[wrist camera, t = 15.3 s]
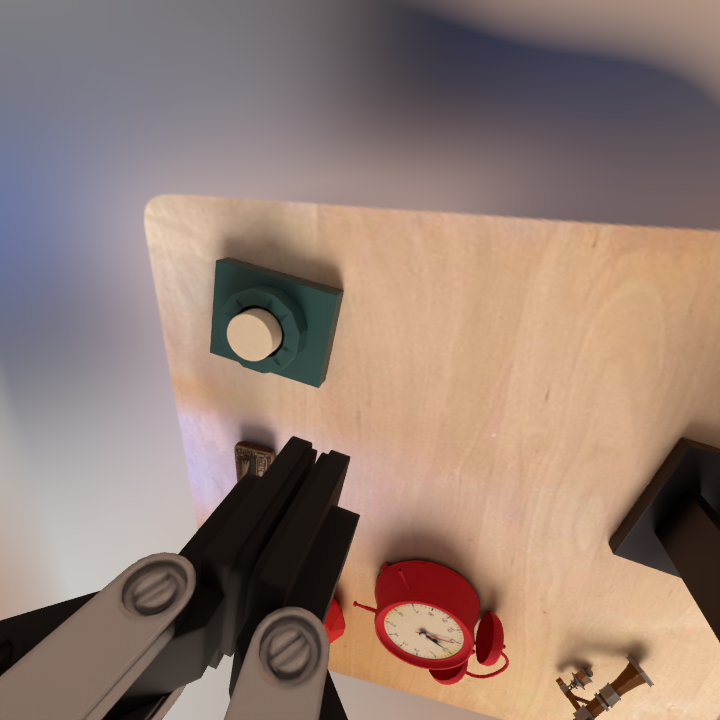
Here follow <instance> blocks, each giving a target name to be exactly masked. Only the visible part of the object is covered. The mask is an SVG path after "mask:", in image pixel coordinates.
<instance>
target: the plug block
mask: <svg viewBox="0 0 720 720" xmlns="http://www.w3.org/2000/svg"><path fill="white" fill-rule="evenodd" d="M343 292H344V291H343V290H339V289H336V288H332V287H329V286H325V285H322V284H318V283H315V282H311V281H308V280H305V279H301V278H298V277H294V276H291V275H287V274H284V273H280V272H277V271H273V270H270V269H266V268H263V267H259V266H256V265H252V264H249V263H245V262H242V261H238V260H235V259H231V258H224V259H219V260H216V270H215V285H214V300H213V316H212V331H211V346H210V353H213V354H216V355H219V356H222V357H225V358H228V359H231V360H234V361H238V362H239V363H240V364H241V365H242V366H243V367H246V368H249V369H252V370H255V371H258V372H261V373H269V372H271V373H274V374H277V375H280V376H284V377H287V378H290V379H293V380H296V381H299V382H302V383H305V384H308V385H311V386H314V387H317V388H319V387H320V386H321V384H322V383H323V382H324V381H325V379H326V374H327V369H328V364H329V359H330V355H331V350H332V345H333V340H334V335H335V331H336V326H337V321H338V316H339V311H340V307H341V302H342V297H343ZM253 308H259V309H263V310H266V311H268V312H270V313H271V314H272V315H273V316H274V317H275V318H276V319H277V320H278V322H279V324H280V326H281V330H282V339H281V343H280V345H279V347H278V348H277V349H276V350H275V351H273V352H272V353H271V354H269V355H268V356H267V357H265V358H264V359H262V360H259V361H249V360H245V359H243V358H241V357H240V356H238V355H237V354H236V353H235V352H234V351H233V349H232V348H231V346H230V344H229V342H228V338H227V328H228V325H229V323H230V321H231V320H232V319H233V318H234V317H235V316H237V315H239V314H241V313H243V312H245V311H247V310H250V309H253Z"/></svg>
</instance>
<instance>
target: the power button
mask: <svg viewBox="0 0 720 720" xmlns="http://www.w3.org/2000/svg"><path fill="white" fill-rule="evenodd" d="M227 338H228V342H229V344H230V346H231V348H232V349H233V351H234V352H235V353H236V354H237V355H238V356H240V357H241V358H243V359H245V360H249V361H259V360H262V359H264V358H265V357H267V356H268V355H269V354H271V353H272V352H273V351H275V350H276V349H277V348H278V347H279V345H280V343H281V339H282V330H281V326H280V324H279V322H278V320H277V319H276V318H275V317H274V316H273V315H272V314H271V313H270V312H268V311H266V310H263V309H259V308H253V309H250V310H247V311H245V312H243V313H241V314H239V315H237V316H235V317H234V318H233V319H232V320H231V321H230V323H229V325H228V328H227Z"/></svg>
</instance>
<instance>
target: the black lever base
mask: <svg viewBox="0 0 720 720" xmlns="http://www.w3.org/2000/svg"><path fill="white" fill-rule="evenodd" d="M609 546H610V548H611V550H612V553H613V554H614V555H617V556H620V557H623V558H625V559H628V560H631V561H634V562H637V563H640V564H643V565H645V566H648V567H651V568H654V569H657V570H660V571H663V572H665V573H668V574H671V575H674V576H677V577H680V578H682V580H683V581H684V583H685V585H686V586H687V588H688V590H689V591H690V593H691V595H692V597H693V598H694V600H695V602H696V603H697V605H698V607H699V608H700V610H701V612H702V613H703V615H704V617H705V618H706V620H707V622H708V623H709V625H710V627H711V628H712V630H713V632H714V634H715V635H716V637H717V639H718V640H719V642H720V449H718V448H715V447H712V446H709V445H705V444H702V443H699V442H695V441H692V440H689V439H685V438H681V439H680V440H679V442H678V443H677V445H676V446H675V448H674V449H673V450H672V452H671V453H670V455H669V456H668V458H667V459H666V461H665V462H664V463H663V465H662V466H661V468H660V469H659V471H658V472H657V474H656V475H655V476H654V478H653V479H652V481H651V482H650V484H649V485H648V486H647V488H646V489H645V491H644V492H643V494H642V495H641V497H640V498H639V499H638V501H637V502H636V504H635V505H634V507H633V508H632V510H631V511H630V512H629V514H628V515H627V517H626V518H625V520H624V521H623V523H622V524H621V525H620V527H619V528H618V530H617V531H616V533H615V534H614V536H613V537H612V538H611V540H610V541H609Z"/></svg>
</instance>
